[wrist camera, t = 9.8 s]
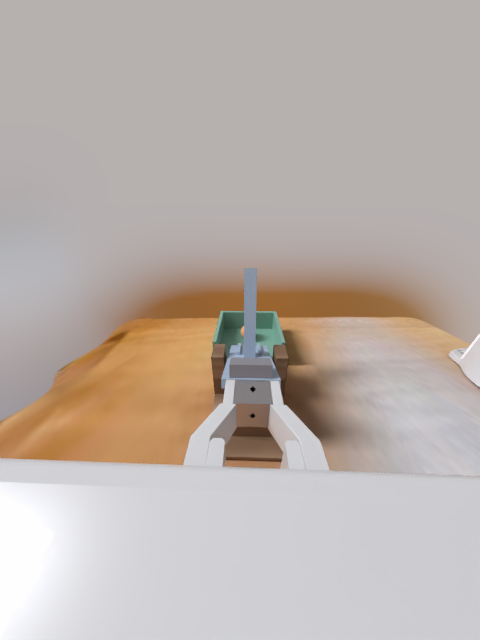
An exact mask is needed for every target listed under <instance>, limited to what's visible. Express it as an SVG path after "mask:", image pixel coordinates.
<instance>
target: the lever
mask: <svg viewBox="0 0 480 640" xmlns="http://www.w3.org/2000/svg"><path fill="white" fill-rule="evenodd" d="M244 276H245V277H244V280H245V281H244V345H241V343H238V345H231V349H230V352H229V355H228V357H227V362H226V365H225V368H224V371H223V375H222V378H221V388H225V384H226V380H227V379H229V380H266V381H279V383H280V388H281V379H280V377H279V374H278V372H277V370H276V367H275V365H274V363H273V360H272V357H271V356H270V353H269V351H268V349H267V346H260V343H257V346H256V283H257V269H256V268H252V269H251V268H250V269H249V268H248V269H245V271H244Z"/></svg>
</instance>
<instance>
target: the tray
mask: <svg viewBox="0 0 480 640" xmlns="http://www.w3.org/2000/svg"><path fill="white" fill-rule="evenodd" d="M243 326H244V311H221V313H220V317H219V320H218V324H217V328H216V331H215V335H214V339H213V348H214V344H225V345H226V362H227V357H228V355H229V352H230V349H231V345H238V343H241V345H244V338H243V337H242V335H241V329H242V327H243ZM257 343H260V346H267V349H268V351H269V353H270V356H271V357H273V346H274V345H285V339H284V336H283V333H282V330H281V326H280V323H279V320H278V317H277V314H276V312H274V311H272V312H269V311H266V312H265V311H256V346H257Z"/></svg>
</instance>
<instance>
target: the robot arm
mask: <svg viewBox="0 0 480 640" xmlns="http://www.w3.org/2000/svg"><path fill="white" fill-rule="evenodd" d="M448 356H449V357H450V358H451V359H452V360H454V361H455V362H456V363H457V364H459V366H460V367H461V369H462V370H463V372H464V374H465V375H466V376H467V377H468V378H469V379H470V380H471V381H472V382H473V383H475V384H476V385H477V386H478V387H480V334H479V335H478V336H477V337H476V339H475V340H474V341H473V343H472V344H471V345H470V346H469V347H467V348H462V349H456V350H452V351H451V352H450V353H449V354H448ZM237 427H266V428H268V429H269V431H270V433H271V434H272V436H273V437H274V439H275V440H276V442H277V443H278V445H279V447H280V448H281V450H282V451H283V457H282V462H281V467H280V469H275V468H247V467H226V452H225V446H226V444H227V442H228V441H229V439H230V438H231V436H232V434H233V433H234V431H235V430H236V428H237ZM0 640H480V476H463V475H436V474H409V473H382V472H355V471H330V470H329V467H328V464H327V461H326V458H325V455H324V452H323V449H322V445H321V442H320V440H319V439H318V438H317V437H316V436H315V435H314V434H313V433H312V432H311V431H310V430H309V429H308V427H307V426H306V425H305V424H304V423H303V422H302V421H301V420H300V419H299V418H298V417H297V416H296V415H295V414H294V413H293V411H292V410H291V409H290V408H289V407H288V406H287V405H284V403H283V398H282V393H281V388H280V383H279V381H266V380H229V379H227V380H226V384H225V391H224V399H223V403H220V404H219V405H218V407H217V408H216V409H215V410H214V411H213V412H212V413H211V414H210V415H209V417H208V418H207V419H206V420H205V421H204V422H203V423H202V424H201V425H200V427H199V428H198V429H197V430H196V431H195V432H194V433H193V434H192V435H191V437H190V441H189V445H188V449H187V452H186V456H185V460H184V464H183V465H166V464H139V463H112V462H86V461H60V460H34V459H8V458H0Z"/></svg>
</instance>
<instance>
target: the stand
mask: <svg viewBox="0 0 480 640" xmlns="http://www.w3.org/2000/svg"><path fill="white" fill-rule="evenodd" d="M211 360H212V370H213V380H214V390H215V399H214V405H213V411H214V410H215V409H216V408H217V407H218V405H219V404H220V403H223V399H224V391H225V388H221V378H222V375H223V371H224V368H225V365H226V345H225V344H214V348H213V352H212V356H211ZM272 360H273V363H274V365H275V367H276V370H277V372H278V374H279V377H280V379H281V393H282V398H283V394H284V388H285V381H286V374H287V367H288V360H289V358H288V354H287V351H286V347H285V345H274V346H273V357H272ZM283 403H284V399H283ZM284 405H285V404H284ZM213 411H212V412H213ZM225 452H226V460H259V461H282V457H283V451H282V450H281V448H280V447H279V445H278V443H277V442H276V440H275V439H274V437H273V436H272V434H271V433H270V431H269V429H268V428H266V427H237V428H236V430H235V431H234V433H233V434H232V436H231V438H230V439H229V441H228V442H227V444H226V446H225Z"/></svg>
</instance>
